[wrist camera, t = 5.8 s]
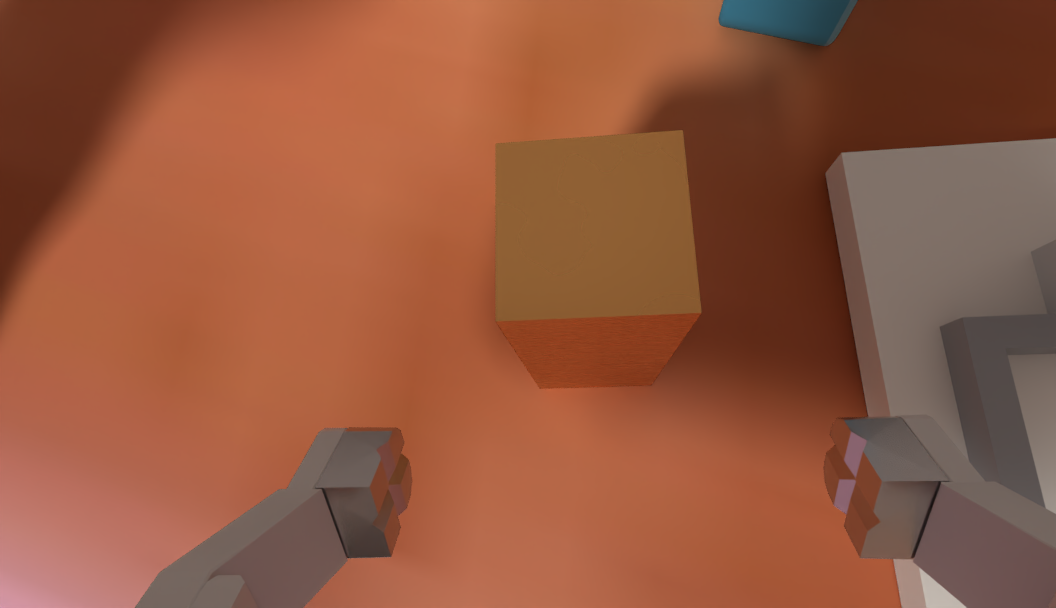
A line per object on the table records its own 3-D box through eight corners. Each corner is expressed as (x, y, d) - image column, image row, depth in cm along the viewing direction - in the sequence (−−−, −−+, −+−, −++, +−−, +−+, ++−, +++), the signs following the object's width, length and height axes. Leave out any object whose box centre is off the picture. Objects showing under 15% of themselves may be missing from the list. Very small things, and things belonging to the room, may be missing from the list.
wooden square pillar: (651, 385, 21) (701, 312, 11) (539, 388, 21) (495, 321, 11) (643, 279, 22) (682, 130, 12) (537, 284, 22) (495, 143, 13)
